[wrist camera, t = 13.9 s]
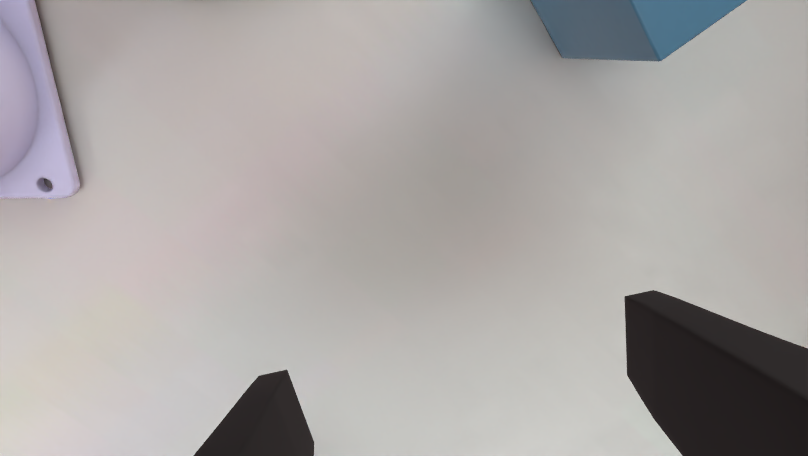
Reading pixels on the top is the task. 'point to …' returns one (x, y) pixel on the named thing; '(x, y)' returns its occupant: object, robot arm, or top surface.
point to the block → (627, 26)
